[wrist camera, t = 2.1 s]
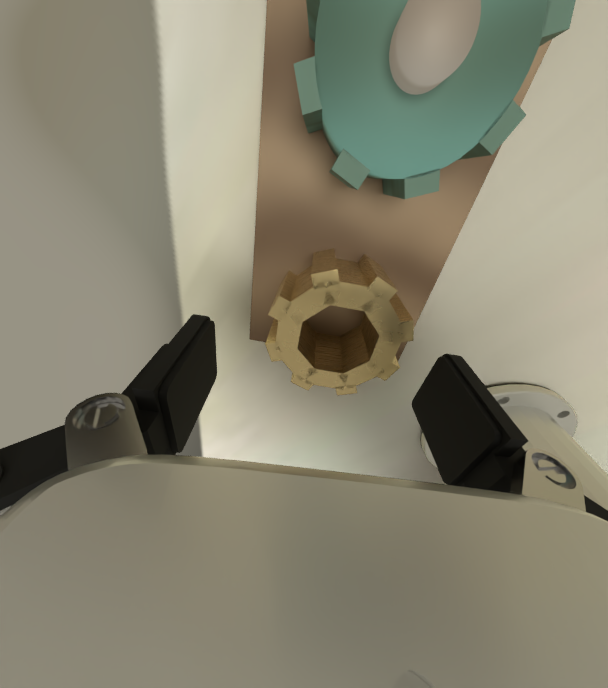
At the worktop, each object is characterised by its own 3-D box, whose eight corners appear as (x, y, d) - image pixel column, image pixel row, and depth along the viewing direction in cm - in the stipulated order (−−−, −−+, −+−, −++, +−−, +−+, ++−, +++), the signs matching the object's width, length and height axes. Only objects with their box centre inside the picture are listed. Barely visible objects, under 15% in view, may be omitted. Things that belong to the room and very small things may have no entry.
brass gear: (371, 362, 19) (382, 402, 15) (272, 345, 18) (261, 382, 15) (412, 263, 14) (439, 287, 11) (284, 238, 14) (273, 257, 11)
